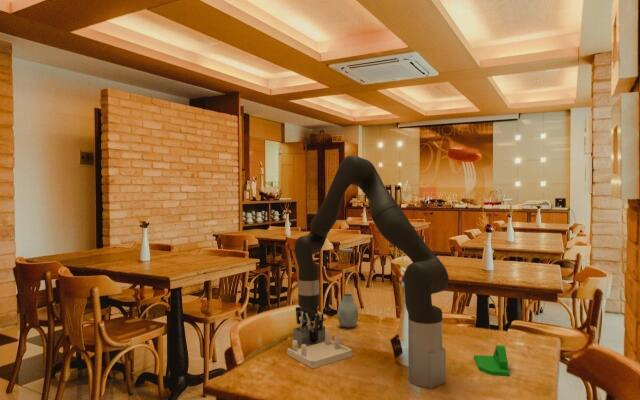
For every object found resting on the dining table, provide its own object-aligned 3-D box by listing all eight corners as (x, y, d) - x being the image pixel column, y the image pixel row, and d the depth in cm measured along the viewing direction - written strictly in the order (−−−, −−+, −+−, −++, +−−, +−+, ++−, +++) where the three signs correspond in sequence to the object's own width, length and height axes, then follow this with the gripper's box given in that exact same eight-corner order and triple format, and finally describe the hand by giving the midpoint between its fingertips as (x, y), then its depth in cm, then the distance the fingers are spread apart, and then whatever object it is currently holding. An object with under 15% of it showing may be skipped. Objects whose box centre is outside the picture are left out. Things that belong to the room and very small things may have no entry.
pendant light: (333, 325, 175) (332, 248, 174) (352, 322, 179) (351, 247, 178) (343, 331, 168) (342, 251, 167) (362, 328, 171) (361, 249, 170)
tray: (353, 356, 143) (353, 340, 143) (312, 368, 134) (312, 352, 134) (326, 343, 155) (326, 329, 154) (287, 354, 145) (287, 339, 145)
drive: (325, 340, 159) (325, 326, 158) (301, 346, 153) (301, 332, 152) (316, 336, 163) (316, 322, 162) (293, 342, 157) (293, 328, 156)
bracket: (473, 359, 140) (473, 337, 140) (500, 360, 139) (500, 339, 139) (480, 375, 128) (480, 352, 128) (509, 377, 127) (509, 353, 127)
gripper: (329, 294, 154) (330, 343, 154) (305, 286, 165) (306, 332, 166) (312, 297, 149) (312, 347, 150) (288, 289, 161) (289, 336, 161)
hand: (309, 339), depth 158 cm, fingers open, 5 cm apart
